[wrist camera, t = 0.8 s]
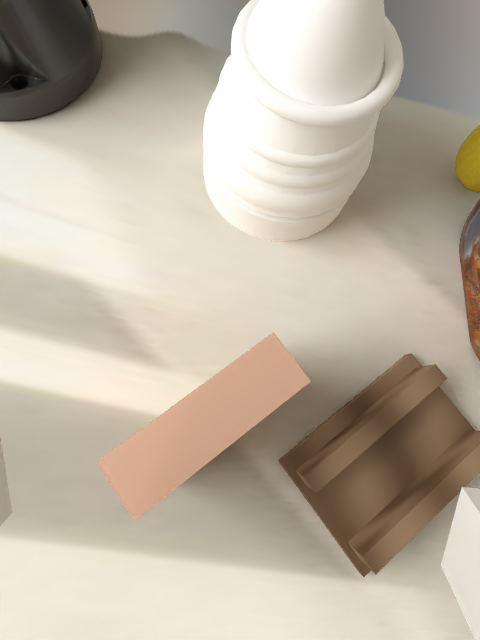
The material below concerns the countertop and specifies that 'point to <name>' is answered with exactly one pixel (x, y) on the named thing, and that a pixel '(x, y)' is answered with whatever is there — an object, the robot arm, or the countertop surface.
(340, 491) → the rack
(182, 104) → the countertop surface
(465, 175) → the lemon
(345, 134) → the honey pot
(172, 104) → the countertop surface
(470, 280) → the tin
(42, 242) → the countertop surface
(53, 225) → the countertop surface
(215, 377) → the tan square block
